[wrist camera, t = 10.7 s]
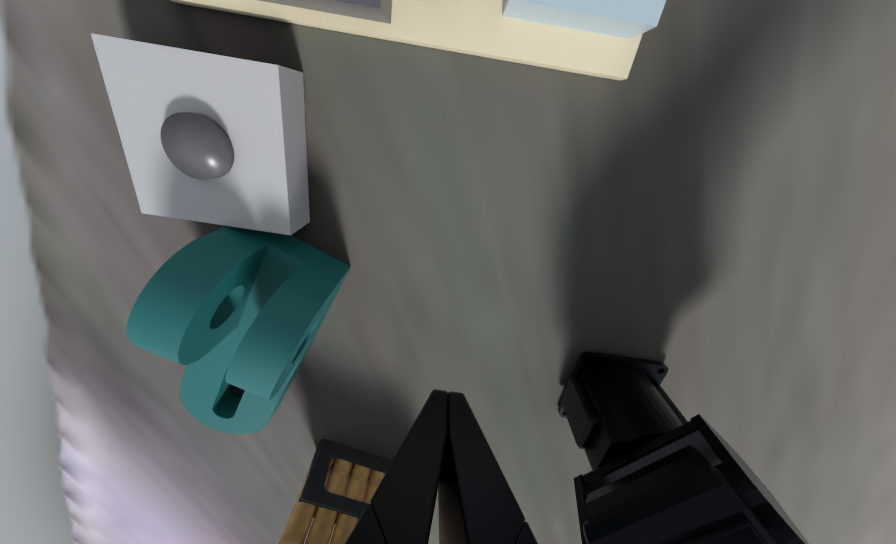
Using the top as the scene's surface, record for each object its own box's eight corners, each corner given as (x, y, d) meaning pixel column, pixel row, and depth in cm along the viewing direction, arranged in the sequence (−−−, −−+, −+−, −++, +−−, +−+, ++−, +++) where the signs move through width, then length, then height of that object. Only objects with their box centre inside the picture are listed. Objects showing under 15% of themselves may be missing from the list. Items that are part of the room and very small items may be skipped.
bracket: (252, 213, 20) (137, 265, 13) (351, 265, 21) (297, 338, 14) (194, 391, 27) (98, 489, 20) (271, 421, 28) (208, 523, 21)
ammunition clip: (316, 449, 29) (233, 642, 18) (321, 438, 29) (239, 631, 18) (420, 483, 31) (401, 676, 20) (428, 473, 30) (412, 668, 20)
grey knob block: (302, 72, 16) (270, 62, 13) (309, 221, 20) (285, 238, 17) (142, 45, 16) (75, 29, 13) (178, 202, 19) (131, 216, 16)
